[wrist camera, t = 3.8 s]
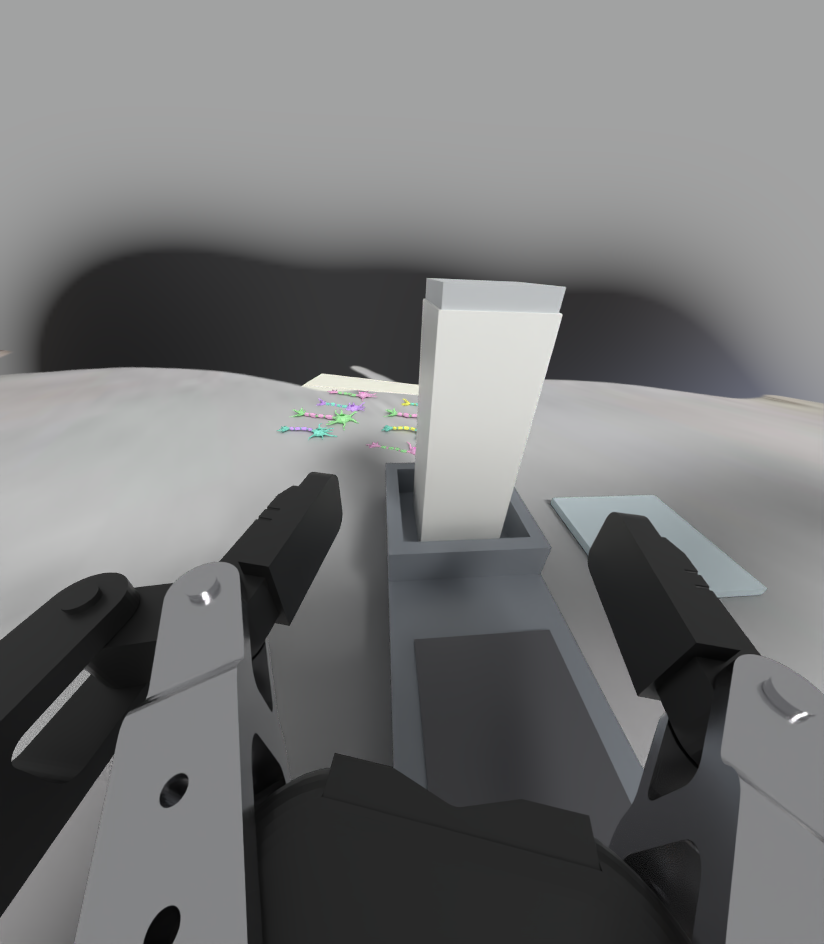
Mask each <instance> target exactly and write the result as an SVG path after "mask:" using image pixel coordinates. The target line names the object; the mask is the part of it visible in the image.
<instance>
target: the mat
mask: <svg viewBox="0 0 824 944" xmlns="http://www.w3.org/2000/svg"><path fill="white" fill-rule="evenodd" d="M550 504H551V505H552V506H553V508H554V509H555V510H556V512H557V513H558V515H559V516H560V517H561V519H562V520H563V521H564V523H565V524H566V526H567V527H568V528H569V530H570V531H571V533H572V534H573V535H574V537H575V538H576V539H577V541H578V542H579V544H580V545H581V546H582V548H583V549H584V550H585V552H586V553H587V555H588V554H589V550H590V548H591V546H592V544H593V542H594V540H595V538H596V537H597V535H598V533H599V531H600V529H601V527H602V525H603V523H604V522H605V520H606V518H607V516H608V515H609V514H610V513H612V512H619V513H627V514H635V515H642V516H645V517H647V518H648V519H649V520H650V522H651V523H652V524H653V526H654V527H655V529H656V530H657V532H658V533H659V534H660V536H661V537H665V538H667V539H668V540H669V541H670V542H671V543H673V544H674V545H675V546H676V547H678V548H679V549H680V550H681V551H682V552H684V553H685V554H686V556H687V557H688V558H689V560H690V561H691V562H692V564H693V565H694V566H695V568H696V569H697V571H698V575H701V576H702V577H703V579H704V580H705V581H706V583H707V584H708V585H709V590H711V591H713V592H714V593H715V595H716V596H717V597H718V598H720V597H735V596H750V595H761V594H762V593H763V592H765V591H766V590H767V588H766V587H765V586H764V585H763V584H761V583H760V582H759V581H758V580H757V579H755V578H754V577H753V576H752V575H751V574H749V573H748V572H747V571H746V570H744V569H743V568H742V567H741V566H740V565H738V564H737V563H736V562H735V561H734V560H732V559H731V558H730V557H729V556H728V555H726V554H725V553H724V552H723V551H722V550H720V549H719V548H718V547H717V546H716V545H714V544H713V543H712V542H711V541H709V540H708V539H707V538H706V537H705V536H703V535H702V534H701V533H700V532H699V531H697V530H696V529H695V528H694V527H693V526H691V525H690V524H689V523H688V522H687V521H685V520H684V519H683V518H682V517H680V516H679V515H678V514H677V513H676V512H674V511H673V510H672V509H671V508H670V507H668V506H667V505H666V504H665V503H664V502H662V501H661V500H660V499H659V498H658V497H656V496H655V495H632V496H597V497H562V498H552V501H551V503H550Z"/></svg>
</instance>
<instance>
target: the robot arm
mask: <svg viewBox="0 0 824 944" xmlns="http://www.w3.org/2000/svg"><path fill="white" fill-rule="evenodd" d="M341 522H342V506H341V498H340V490H339V482H338V478H337V476H336V475H333V474H325V473H318V472H311V473H309V474H308V476H307V477H306V478H305V479H304V480H303V482H302V483H301V484H300V485H299V486H291V487H290V488H288V489H286V490H285V491H283V492H282V493H280V494H278V495H277V496H276V497H275V499H274V500H273V501H272V502H271V503H270V504H269V505H268V507H267V509H265V510H264V511H263V512H262V513H261V515H260V516H259V519H258V520H257V519H256V520H255V521H254V523H253V524H252V525H251V526H250V527H249V528H248V529H247V531H246V532H245V533H244V534H243V535H242V536H241V538H240V539H239V540H238V541H237V542H236V543H235V544H234V546H233V547H232V548H231V549H230V550H229V551H228V552H227V554H226V555H225V556H224V557H223V558H222V559H221V560H220V561H219V562H212V563H207V564H204V565H201V566H198V567H196V568H194V569H192V570H190V571H188V572H187V573H185V574H184V575H182V576H181V577H180V578H179V579H178V580H176V581H175V582H174V583H170V584H162V585H153V586H145V587H137V588H134V587H133V586H132V584H131V583H130V582H129V581H128V579H127V578H126V577H125V576H124V575H122V574H119V573H102V574H97V575H94V576H90V577H88V578H85V579H82V580H80V581H78V582H76V583H74V584H72V585H70V586H68V587H67V588H65V589H64V590H62V591H60V592H59V593H58V594H56V595H55V596H54V597H52V598H51V599H50V600H49V601H48V602H46V603H45V604H44V605H43V606H41V607H40V608H39V609H38V610H37V611H35V612H34V613H33V614H32V615H31V616H29V617H28V618H27V619H26V620H24V621H23V622H22V623H21V624H20V625H18V626H17V627H16V628H15V629H13V630H12V631H11V632H10V633H9V634H7V635H6V636H5V637H4V638H3V639H1V640H0V917H1V916H2V914H3V913H4V912H5V910H6V909H7V907H8V906H9V904H10V903H11V901H12V900H13V899H14V897H15V896H16V894H17V893H18V891H19V890H20V889H21V887H22V886H23V884H24V883H25V881H26V880H27V878H28V877H29V876H30V874H31V873H32V871H33V870H34V868H35V867H36V866H37V864H38V863H39V861H40V860H41V858H42V857H43V856H44V854H45V853H46V851H47V850H48V848H49V847H50V845H51V844H52V843H53V841H54V840H55V838H56V837H57V835H58V834H59V833H60V831H61V830H62V828H63V827H64V825H65V824H66V822H67V821H68V820H69V818H70V817H71V815H72V814H73V812H74V811H75V810H76V808H77V807H78V805H79V804H80V802H81V801H82V799H83V798H84V797H85V795H86V794H87V792H88V791H89V789H90V788H91V787H92V785H93V784H94V782H95V781H96V779H97V778H98V777H99V775H100V774H101V772H102V771H103V769H104V768H105V766H106V765H107V764H108V762H109V761H110V759H111V758H112V756H113V755H114V758H113V763H112V767H111V772H110V777H109V781H108V786H107V791H106V795H105V800H104V805H103V810H102V814H101V819H100V824H99V828H98V833H97V838H96V842H95V847H94V852H93V857H92V861H91V866H90V871H89V875H88V880H87V885H86V889H85V894H84V899H83V903H82V908H81V913H80V918H79V922H78V927H77V932H76V936H75V941H74V944H824V694H823V693H822V692H821V691H820V690H819V689H818V688H816V687H815V686H814V685H813V684H811V683H810V682H809V681H808V680H806V679H805V678H804V677H802V676H801V675H799V674H798V673H796V672H795V671H793V670H792V669H790V668H788V667H786V666H785V665H783V664H781V663H779V662H776V661H774V660H772V659H769V658H766V657H763V656H761V655H760V654H759V652H758V651H757V650H756V648H755V647H754V646H753V644H752V643H751V642H750V640H749V639H748V638H747V636H746V635H745V634H744V632H743V631H742V630H741V628H740V627H739V626H738V624H737V623H736V621H735V620H734V619H733V617H732V616H731V615H730V613H729V612H728V611H727V609H726V608H725V607H724V605H723V604H722V603H721V601H720V600H719V599H718V597H717V596H716V595H715V593H714V592H713V591H711V590H709V585H708V584H707V583H706V581H705V580H704V579H703V577H702V576H701V575H698V571H697V569H696V568H695V566H694V565H693V564H692V562H691V561H690V560H689V558H688V557H687V556H686V554H685V553H684V552H682V551H681V550H680V549H679V548H678V547H676V546H675V545H674V544H673V543H671V542H670V541H669V540H668V539H667V538H665V537H661V536H660V534H659V533H658V532H657V530H656V529H655V527H654V526H653V524H652V523H651V522H650V520H649V519H648V518H647V517H645V516H642V515H635V514H627V513H619V512H612V513H610V514H609V515H608V516H607V518H606V520H605V522H604V523H603V525H602V527H601V529H600V531H599V533H598V535H597V537H596V538H595V540H594V542H593V544H592V546H591V548H590V550H589V554H588V567H589V571H590V573H591V576H592V579H593V581H594V584H595V586H596V589H597V592H598V594H599V597H600V599H601V602H602V605H603V607H604V610H605V612H606V615H607V618H608V620H609V623H610V625H611V628H612V631H613V633H614V636H615V638H616V641H617V644H618V646H619V649H620V651H621V654H622V657H623V659H624V662H625V664H626V667H627V670H628V672H629V675H630V677H631V680H632V683H633V685H634V688H635V690H636V693H637V696H640V697H645V698H650V699H655V700H660V701H661V702H662V704H663V707H664V709H665V711H666V712H665V713H664V714H663V715H662V716H661V717H660V719H659V722H658V725H657V728H656V732H655V735H654V738H653V741H652V745H651V748H650V751H649V755H648V758H647V761H646V764H645V768H644V771H643V774H642V777H641V781H640V784H639V787H638V791H637V794H636V796H635V799H634V801H633V803H632V805H631V806H630V808H629V809H628V811H627V812H626V813H625V814H624V816H623V817H622V819H621V820H620V822H619V824H618V826H617V827H616V830H615V832H614V834H613V837H612V839H611V842H610V845H609V848H608V847H607V846H606V845H604V844H603V843H602V842H600V841H599V840H598V839H597V838H595V837H594V835H593V831H592V826H591V821H590V817H589V815H585V814H581V813H577V812H573V811H569V810H565V809H561V808H557V807H553V806H549V805H545V804H541V803H536V802H532V801H528V800H524V799H518V800H510V801H502V802H495V803H487V804H480V805H472V806H465V807H456V806H452V805H450V804H448V803H447V802H445V801H444V800H442V799H441V798H439V797H437V796H436V795H434V794H433V793H431V792H430V791H428V790H427V789H425V788H424V787H422V786H421V785H419V784H418V783H416V782H415V781H413V780H412V779H410V778H408V777H407V776H405V775H404V774H402V773H401V772H399V771H398V770H396V769H395V768H393V767H390V766H386V765H382V764H378V763H374V762H370V761H366V760H362V759H357V758H353V757H349V756H345V755H341V754H337V753H335V754H334V758H333V761H332V765H331V768H325V769H320V770H317V771H313V772H310V773H307V774H305V775H302V776H300V777H298V778H296V779H294V780H292V781H291V777H290V769H289V762H288V755H287V749H286V744H285V740H284V735H283V732H282V728H281V725H280V721H279V716H278V710H277V702H276V694H275V687H274V679H273V671H272V663H271V656H270V648H269V640H268V634H269V632H270V631H271V629H272V627H273V625H274V623H278V624H283V625H288V626H290V624H291V622H292V620H293V618H294V616H295V614H296V612H297V611H298V609H299V607H300V605H301V603H302V601H303V599H304V597H305V595H306V593H307V591H308V589H309V587H310V585H311V584H312V582H313V580H314V578H315V576H316V574H317V572H318V570H319V568H320V566H321V564H322V562H323V560H324V558H325V557H326V555H327V553H328V551H329V549H330V547H331V545H332V543H333V541H334V539H335V537H336V535H337V533H338V531H339V529H340V526H341ZM83 669H85V670H87V671H88V672H89V673H90V674H91V675H90V676H89V677H88V679H87V680H86V681H85V682H84V683H83V684H82V685H81V686H80V688H79V689H78V690H77V691H76V692H75V693H74V694H73V695H72V697H71V698H70V699H69V700H68V701H67V702H66V703H65V704H64V705H63V707H62V708H61V709H60V710H59V711H58V712H57V713H56V714H55V716H54V717H53V718H52V719H51V720H50V721H49V722H48V723H47V725H46V726H45V727H44V728H43V729H42V730H41V731H40V732H39V734H38V735H37V736H36V737H35V738H34V739H33V740H32V741H31V743H30V744H29V745H28V746H27V747H26V748H25V749H24V750H23V752H22V753H21V754H20V755H19V756H18V757H16V758H15V759H14V760H13V761H12V762H11V759H12V754H13V751H14V749H15V747H16V745H17V743H18V741H19V740H20V739H21V737H22V736H23V735H24V733H25V732H26V731H27V730H28V729H29V728H30V727H31V726H32V725H33V723H34V722H35V721H36V720H37V719H38V718H39V717H40V716H41V715H42V714H43V713H44V712H45V710H46V709H47V708H48V707H49V706H50V705H51V704H52V703H53V702H54V701H55V700H56V698H57V697H58V696H59V695H60V694H61V693H62V692H63V691H64V690H65V689H66V688H67V687H68V685H69V684H70V683H71V682H72V681H73V680H74V679H75V678H76V677H77V676H78V675H79V674H80V672H81V671H82V670H83Z"/></svg>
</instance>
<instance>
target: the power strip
mask: <svg viewBox="0 0 824 944" xmlns="http://www.w3.org/2000/svg"><path fill="white" fill-rule="evenodd" d="M414 472H415V463H386V471H385V474H386V521H387V556H388V592H389V628H390V663H391V699H392V735H393V768H395V769H396V770H398V771H399V772H401V773H402V774H404V775H405V776H407V777H408V778H410V779H412V780H413V781H415V782H416V783H418V784H419V785H421V786H422V787H424V788H425V789H427V790H428V791H430V792H431V793H433V794H434V795H436V796H437V797H439V798H441V799H442V800H444V801H445V802H447V803H448V804H450V805H452V806H456V807H465V806H472V805H480V804H487V803H495V802H502V801H510V800H518V799H524V800H528V801H532V802H536V803H541V804H545V805H549V806H553V807H557V808H561V809H565V810H569V811H573V812H577V813H581V814H585V815H589V817H590V821H591V826H592V831H593V835H594V837H595V838H597V839H598V840H599V841H600V842H602V843H603V844H604V845H606V846H607V847H608V848H609V845H610V842H611V839H612V837H613V834H614V832H615V830H616V827H617V826H618V824H619V822H620V820H621V819H622V817H623V816H624V814H625V813H626V812H627V811H628V809H629V808H630V806H631V805H632V803H633V801H634V799H635V796H636V794H637V791H638V787H639V784H640V781H641V777H642V774H643V771H644V770H643V768H642V766H641V764H640V763H639V761H638V759H637V757H636V755H635V753H634V751H633V749H632V747H631V745H630V743H629V742H628V740H627V738H626V736H625V734H624V732H623V730H622V728H621V726H620V724H619V723H618V721H617V719H616V717H615V715H614V713H613V711H612V709H611V707H610V705H609V703H608V702H607V700H606V698H605V696H604V694H603V692H602V690H601V688H600V686H599V684H598V683H597V681H596V679H595V677H594V675H593V673H592V671H591V669H590V667H589V665H588V663H587V662H586V660H585V658H584V656H583V654H582V652H581V650H580V648H579V646H578V644H577V643H576V641H575V639H574V637H573V635H572V633H571V631H570V629H569V627H568V625H567V623H566V622H565V620H564V618H563V616H562V614H561V612H560V610H559V608H558V606H557V604H556V603H555V601H554V599H553V597H552V595H551V593H550V591H549V589H548V587H547V585H546V583H545V582H544V580H543V578H542V576H541V574H540V573H541V571H542V569H543V566H544V564H545V562H546V559H547V557H548V555H549V552H550V550H551V546H550V544H549V543H548V541H547V539H546V538H545V536H544V535H543V533H542V531H541V530H540V528H539V526H538V525H537V523H536V522H535V520H534V518H533V517H532V515H531V513H530V512H529V510H528V509H527V507H526V505H525V504H524V502H523V500H522V499H521V497H520V495H519V494H518V492H517V491H516V489H515V487H514V489H513V492H512V496H511V499H510V503H509V507H508V510H507V514H506V517H505V521H504V524H503V528H502V531H501V535H500V538H495V539H471V540H447V541H423V542H419V540H418V533H417V526H416V519H415V512H414V505H413V492H414Z"/></svg>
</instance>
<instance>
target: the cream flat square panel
mask: <svg viewBox="0 0 824 944" xmlns="http://www.w3.org/2000/svg"><path fill="white" fill-rule="evenodd" d="M303 387H306V388H310V389H315V390H319V391H327V392H330V393H338V394H344V395H347V394H348V395H350V396H351V395H352V396H359V397H360V398H362V401H363V398H366V397H372V396H369V395H374V394H370V393H369V394H367V392H368V391H375V392H388V393H400V394H412V395H418V393H419V385H414V384H405V383H397V382H389V381H380V380H372V379H362V378H354V377H346V376H337V375H329V374H321V375H319V376H317V377H316V378H314V379H313V380H311V381H309V382H308V383H306V384H304V385H303ZM351 390H358V391H359V394H358V395H356V394H352V393H346V392H345V393H342V391H351ZM360 390H363V391H367V392H366V393H365V392H361V393H360ZM375 394H376V393H375ZM373 397H376V396H373ZM318 399H319V400H320V401H321V402H322V403H319V404H317V405H318V406H319V405H320V404H321V405H324V404H326V405H332V406H338V407H343V408H347V409H345V410H351V412H353V411H354V410H356V411H357V410H363V409H364V408H365V407H364V408H361V407H360V406H362V405H363V404H364V403H365V402H364V403H363V404H361V405H360V406H356V405H355V404H354V403H353V402H352V403H353V404H354V405H350V403H349V405H348V406H346V405H342V406H341V405H338V404H337V405H336V404H335V403H331V404H330V403H325V401H324V402H323V400H321V399H320V398H318ZM403 400H404V399H403ZM405 400H406V399H405ZM405 400H404V401H405ZM405 402H406V403H403V404H402V405H404V406H405V404H406V405H409V404H410V405H416V406H418V403H416V404H415V403H409V401H407V400H406V401H405ZM357 408H359V409H357ZM340 410H341V409H340ZM392 410H393V411H394V412H393V411H391V410H388V409H387V410H386V411H387V412H390V413H392V414H390V415H388V416H394V415H396V414H397V415H399V416H402V415H403V416H405V417H410V416H411V417H417V414H412V415H410V414H408V413H404V414H403V413H396V411H395V409H392ZM294 411H295V412H297V413H299V414H297V416H300V415H301V416H303V415H305V416H311V417H314V418H316V417H320V418H323V417H326V418H327V419H335V420H336V421H328V422H332V423H330V424H333V423H337V422H338V423H343V424H344V426H345V425H346V424H345V423H346V422H348V421H349V420H351V421H354V422H355V421H356V420H354V419H353V418H351V416H352V415H353V414H354V413H356V411H355V412H354V413H353V414H351V415H346V414H343V413H342V410H341V413H340V415H339V414H337V413H336V411H335V414H336V415H337V416H336V417H333V416H332V415H326V416H324V415H322V414H320V415H317V414H314V413H305V410H304V412H303V409H301V411H300V410H299V411H297V410H294ZM292 417H296V415H294V416H292ZM383 417H385V416H383ZM355 423H357V422H355ZM321 424H322V423H321ZM321 424H319V428H317V429H315V430H313V429H311V428H306V427H302V428H300V427H295V428H293V427H290V428H288V427H286V426H285V427H282V426H281V427H282V428H281V429H279V430H277V431H280V430H282V431H281V432H285V431H286V430H289V429H290V430H300V429H301V430H308V431H312V432H314V435H312V436H311V437H313V436H322V440H323V435H328V436H333V435H329V434H327V433H325V432H333V431H328V430H330V429H331V428H329V429H326V428H327V427H326V428H320V425H321ZM326 425H329V424H326ZM344 426H343V428H344ZM323 429H326V430H323ZM332 429H334V428H332ZM391 429H406V430H409V429H411V430H413V431H417V429H416V428H412V427H411V428H409V427H390V426H387V425H386V427H384V429H383V430H386V431H389V430H391ZM344 430H345V429H344ZM311 437H310V438H311ZM335 437H337V436H335ZM308 441H309V440H308ZM407 443H408V442H407ZM368 445H370V444H368ZM409 445H410V450H409V451H407V450H400V449H399V448H394V447H389V448H388V447H386V446H379V445H378V442H377V443H376V444H375V442H374V443H372V445H370V446H369V448H371V447H381V448H385V449H386V448H388V449H395V450H397V451H400V452H405V453H407V452H409V453H412V454H414V455H415V452H416V447H411V444H410V443H409Z"/></svg>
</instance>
